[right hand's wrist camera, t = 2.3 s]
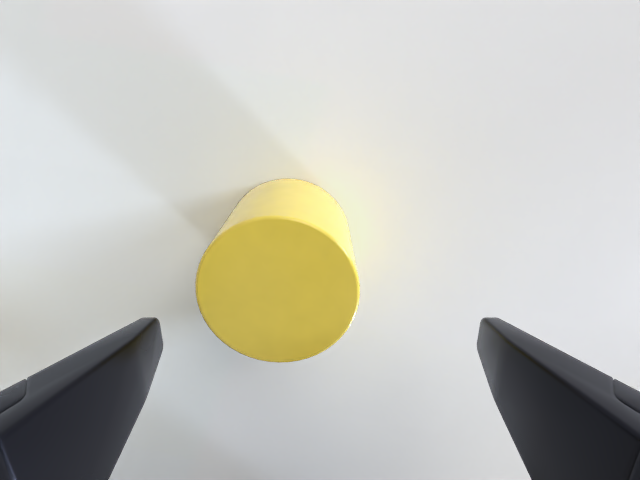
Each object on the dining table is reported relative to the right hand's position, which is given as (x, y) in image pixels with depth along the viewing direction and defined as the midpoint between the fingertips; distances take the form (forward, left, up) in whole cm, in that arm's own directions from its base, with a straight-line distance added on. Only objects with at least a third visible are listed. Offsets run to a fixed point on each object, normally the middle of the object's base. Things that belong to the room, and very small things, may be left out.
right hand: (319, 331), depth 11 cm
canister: (-1, 0, -5) cm, 6 cm away
